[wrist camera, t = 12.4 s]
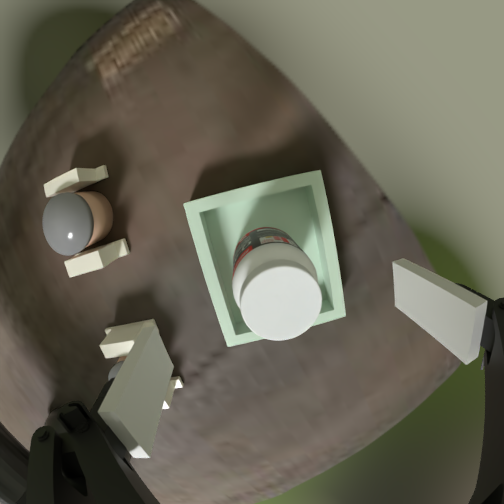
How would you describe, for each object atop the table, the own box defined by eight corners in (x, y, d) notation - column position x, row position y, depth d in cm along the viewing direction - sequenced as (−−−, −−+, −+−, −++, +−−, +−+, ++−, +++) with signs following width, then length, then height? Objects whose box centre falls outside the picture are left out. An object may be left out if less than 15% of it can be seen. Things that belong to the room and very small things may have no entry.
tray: (228, 330, 27) (227, 346, 24) (189, 201, 24) (183, 203, 21) (335, 303, 27) (345, 316, 24) (310, 171, 24) (320, 170, 21)
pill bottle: (233, 224, 24) (231, 252, 15) (299, 226, 24) (337, 255, 15) (232, 287, 26) (231, 347, 16) (294, 288, 26) (324, 346, 16)
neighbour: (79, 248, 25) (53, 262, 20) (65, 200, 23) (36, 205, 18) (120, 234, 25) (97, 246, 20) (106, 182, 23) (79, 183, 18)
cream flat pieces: (138, 388, 29) (129, 410, 25) (59, 186, 23) (36, 188, 19) (183, 383, 29) (177, 407, 25) (106, 165, 23) (85, 163, 19)
